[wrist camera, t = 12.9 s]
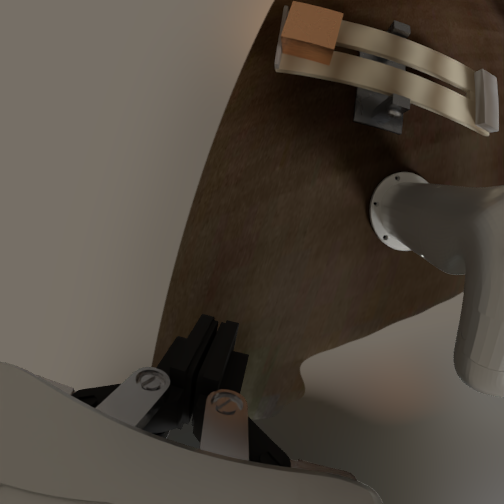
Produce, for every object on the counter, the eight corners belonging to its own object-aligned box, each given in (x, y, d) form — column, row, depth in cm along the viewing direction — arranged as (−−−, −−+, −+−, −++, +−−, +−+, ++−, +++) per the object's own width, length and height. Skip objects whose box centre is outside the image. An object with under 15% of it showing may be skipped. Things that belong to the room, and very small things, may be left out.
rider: (337, 34, 27) (343, 13, 21) (328, 68, 29) (334, 49, 23) (294, 23, 27) (293, 0, 22) (283, 56, 29) (280, 35, 23)
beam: (483, 80, 24) (496, 74, 21) (484, 136, 27) (498, 134, 23) (285, 15, 27) (283, 1, 24) (275, 71, 30) (273, 61, 27)
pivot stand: (403, 52, 32) (427, 27, 22) (399, 134, 37) (428, 124, 27) (360, 39, 33) (374, 8, 23) (352, 121, 37) (370, 105, 27)
